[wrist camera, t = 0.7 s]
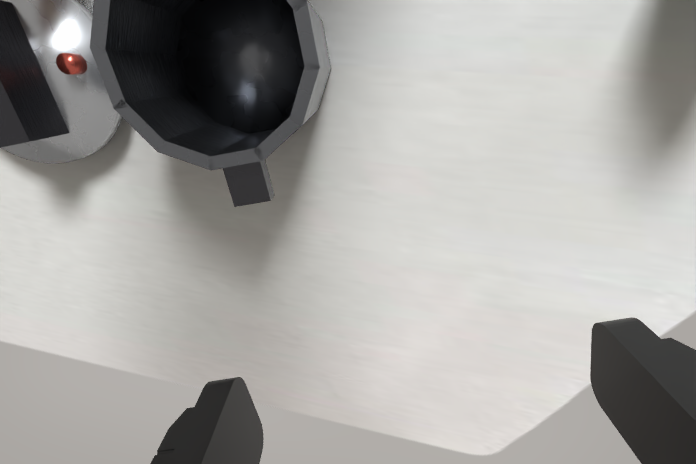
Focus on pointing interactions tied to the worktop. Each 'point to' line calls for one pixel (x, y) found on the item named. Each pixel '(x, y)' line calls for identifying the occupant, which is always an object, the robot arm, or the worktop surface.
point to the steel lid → (51, 83)
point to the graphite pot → (213, 78)
